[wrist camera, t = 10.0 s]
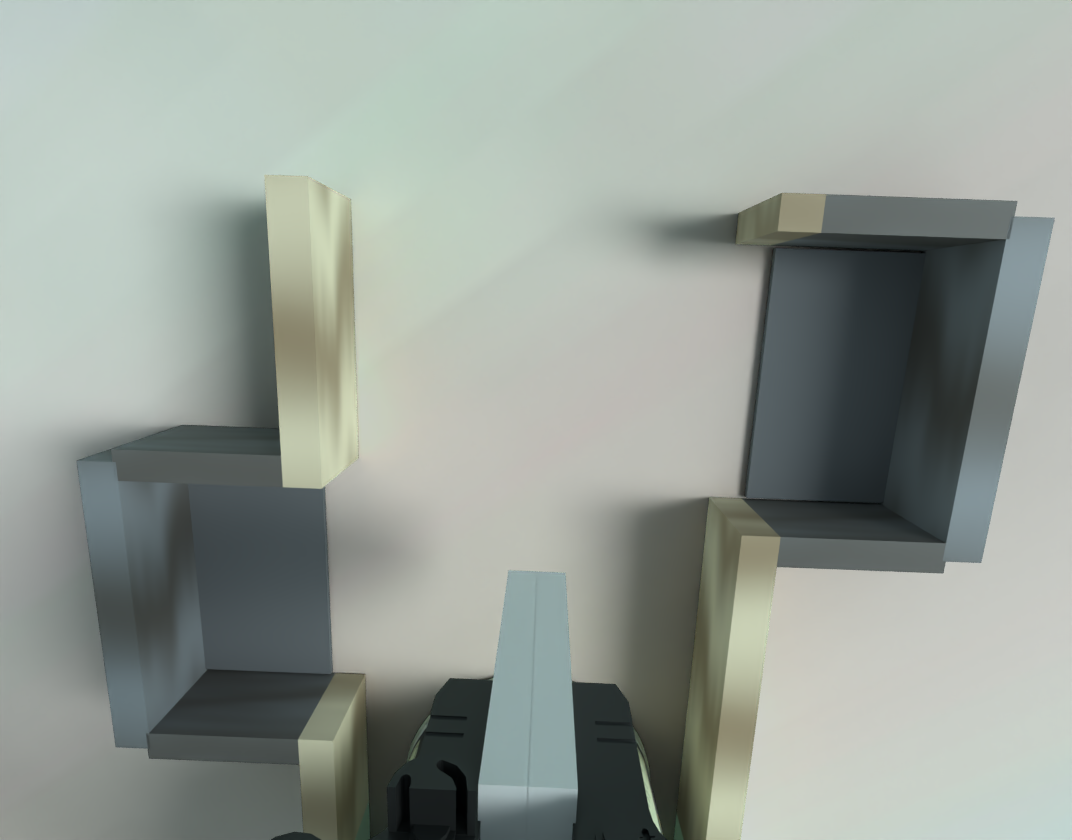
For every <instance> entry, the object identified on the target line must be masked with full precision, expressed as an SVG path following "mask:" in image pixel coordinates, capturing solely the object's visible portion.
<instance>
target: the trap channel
mask: <svg viewBox="0 0 1072 840" xmlns="http://www.w3.org/2000/svg"><path fill="white" fill-rule="evenodd" d="M264 177H265V194H266V211H267V228H268V245H269V261H270V278H271V295H272V312H273V329H274V345H275V362H276V379H277V396H278V413H279V429H277V428H250V427H224V426H197V425H182V426H179V427H176V428H173V429H170V430H167V431H164V432H161V433H158V434H155V435H151V436H148V437H145V438H142V439H139V440H137V441H134V442H131V443H128V444H125V445H122V446H119V447H116V448H113V449H110V450H107V451H104V452H101V453H98V454H95V455H92V456H89V457H86V458H83V459H80V460H77V467H78V475H79V482H80V489H81V496H82V504H83V511H84V518H85V526H86V533H87V540H88V548H89V555H90V562H91V570H92V577H93V584H94V591H95V599H96V606H97V613H98V621H99V628H100V635H101V643H102V650H103V657H104V665H105V672H106V679H107V686H108V694H109V701H110V708H111V716H112V723H113V730H114V738H115V745H116V747H124V748H148V755H149V758H150V759H175V760H199V761H223V762H248V763H272V764H296V765H299V766H300V782H301V799H302V816H303V833H311V834H313V835H314V836H316V837H318V838H319V839H321V840H355V838H356V835H357V833H358V830H359V827H360V824H361V821H362V818H363V816H364V813H365V810H366V807H367V804H368V801H369V785H368V752H367V719H366V686H365V674H344V673H331V674H316V673H291V672H267V671H242V670H217V669H206V668H205V657H204V647H203V636H202V626H201V616H200V605H199V595H198V584H197V574H196V563H195V553H194V542H193V532H192V521H191V511H190V501H189V490H188V484H211V485H237V486H263V487H289V488H315V489H322V488H323V487H325V486H326V485H327V484H328V483H329V482H331V481H332V480H333V479H334V478H335V477H336V476H338V475H339V474H340V473H341V472H342V471H344V470H345V469H346V468H347V467H348V466H350V465H351V464H352V463H353V462H354V461H356V460H357V459H358V458H359V455H358V422H357V389H356V356H355V322H354V289H353V256H352V223H351V199H349V198H347V197H345V196H344V195H342V194H340V193H338V192H336V191H334V190H332V189H331V188H329V187H327V186H325V185H323V184H321V183H319V182H318V181H316V180H314V179H312V178H310V177H308V176H284V175H264ZM1016 206H1017V201H1001V200H972V199H943V198H915V197H886V196H857V195H829V194H800V193H781V194H779V195H777V196H774V197H772V198H770V199H768V200H766V201H764V202H761V203H759V204H757V205H755V206H753V207H751V208H748V209H746V210H744V211H742V212H740V213H739V214H738V224H737V234H736V243H735V244H745V245H773V246H801V247H829V248H857V249H886V250H914V251H922V253H926V256H925V262H924V267H923V273H922V279H921V285H920V291H919V297H918V303H917V308H916V314H915V320H914V326H913V332H912V338H911V344H910V349H909V355H908V361H907V367H906V373H905V379H904V385H903V390H902V396H901V402H900V408H899V414H898V420H897V426H896V432H895V437H894V443H893V449H892V455H891V461H890V467H889V473H888V478H887V484H886V490H885V496H884V502H883V503H880V504H873V503H847V502H821V501H795V500H768V499H742V498H716V497H709V504H708V514H707V523H706V533H705V543H704V552H703V562H702V572H701V581H700V591H699V601H698V610H697V620H696V630H695V639H694V649H693V659H692V668H691V678H690V688H689V697H688V707H687V716H686V726H685V736H684V745H683V755H682V765H681V774H680V784H679V794H678V803H677V816H678V820H679V824H680V828H681V832H682V836H683V839H684V840H740V839H741V832H742V824H743V817H744V809H745V801H746V794H747V786H748V779H749V771H750V764H751V756H752V749H753V741H754V734H755V726H756V719H757V711H758V704H759V696H760V689H761V681H762V674H763V666H764V659H765V651H766V644H767V636H768V628H769V621H770V613H771V606H772V598H773V591H774V583H775V576H776V568H777V567H792V568H818V569H844V570H870V571H895V572H921V573H944V568H945V563H946V562H971V563H981V561H982V557H983V552H984V547H985V543H986V538H987V533H988V529H989V524H990V519H991V515H992V510H993V505H994V500H995V496H996V491H997V486H998V482H999V477H1000V472H1001V468H1002V463H1003V458H1004V454H1005V449H1006V444H1007V439H1008V435H1009V430H1010V425H1011V421H1012V416H1013V411H1014V407H1015V402H1016V397H1017V392H1018V388H1019V383H1020V378H1021V374H1022V369H1023V364H1024V360H1025V355H1026V350H1027V346H1028V341H1029V336H1030V331H1031V327H1032V322H1033V317H1034V313H1035V308H1036V303H1037V299H1038V294H1039V289H1040V285H1041V280H1042V275H1043V270H1044V266H1045V261H1046V256H1047V252H1048V247H1049V242H1050V238H1051V233H1052V228H1053V224H1054V219H1055V218H1042V217H1014V216H1015V211H1016Z"/></svg>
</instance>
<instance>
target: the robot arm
mask: <svg viewBox="0 0 1072 840" xmlns="http://www.w3.org/2000/svg"><path fill="white" fill-rule="evenodd" d="M387 801H388V827H387V828H386V829H385V830H384V831H382V832H381V833H379V834H378V835H376V836H374V837H373V838H371V839H368V840H667V839H666V838H665V837H664V836H663V835H662V834H661V833H660V832H659V830H658V828H657V827H656V825H655V823H654V822H653V820H652V817H651V813H650V810H649V806H648V801H647V796H646V791H645V786H644V780H643V775H642V770H641V765H640V760H639V754H638V749H637V744H636V739H635V733H634V728H633V726H632V718H631V713H630V707H629V702H628V701H627V699H626V698H625V697H624V695H623V694H622V693H621V691H620V690H619V688H618V687H617V686H616V684H602V683H580V682H572V679H571V661H570V644H569V627H568V610H567V593H566V575H565V573H558V572H534V571H511V570H509V572H508V579H507V586H506V593H505V600H504V607H503V614H502V621H501V628H500V635H499V642H498V649H497V656H496V663H495V670H494V677H493V680H477V679H455V678H450V679H449V680H448V681H447V682H446V684H445V685H444V686H443V687H442V688H441V689H440V691H439V692H438V693H437V694H436V696H435V699H434V703H433V706H432V710H431V714H430V719H429V721H428V724H427V728H426V732H425V736H424V739H423V742H422V746H421V749H420V753H419V757H418V758H415V759H413V760H411V761H408V762H407V763H406V764H405V765H403V766H402V767H401V768H400V769H399V770H398V771H397V772H395V774H394V775H393V777H392V779H391V781H390V783H389V784H388V786H387ZM271 840H321V839H319V838H318V837H316V836H314V835H313V834H311V833H300V832H292V833H288V834H285V835H281V836H277V837H274V838H273V839H271Z"/></svg>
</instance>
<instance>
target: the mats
mask: <svg viewBox="0 0 1072 840" xmlns="http://www.w3.org/2000/svg"><path fill="white" fill-rule="evenodd" d="M925 256H926V253H901V252H873V251H845V250H817V249H788V248H774V249H773V258H772V266H771V275H770V284H769V292H768V301H767V309H766V318H765V326H764V335H763V343H762V352H761V360H760V369H759V378H758V386H757V395H756V403H755V412H754V420H753V429H752V437H751V446H750V454H749V463H748V471H747V480H746V489H745V497H746V498H764V499H790V500H816V501H842V502H869V503H883V502H884V496H885V490H886V484H887V478H888V473H889V467H890V461H891V455H892V449H893V443H894V437H895V432H896V426H897V420H898V414H899V408H900V402H901V396H902V390H903V385H904V379H905V373H906V367H907V361H908V355H909V349H910V344H911V338H912V332H913V326H914V320H915V314H916V308H917V303H918V297H919V291H920V285H921V279H922V273H923V267H924V262H925ZM188 490H189V501H190V511H191V521H192V532H193V542H194V553H195V563H196V574H197V584H198V595H199V605H200V616H201V626H202V636H203V647H204V657H205V668H206V669H217V670H242V671H267V672H291V673H316V674H331V673H332V671H333V665H332V642H331V619H330V596H329V573H328V550H327V527H326V504H325V487H323V488H322V489H315V488H289V487H263V486H237V485H211V484H188Z"/></svg>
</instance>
